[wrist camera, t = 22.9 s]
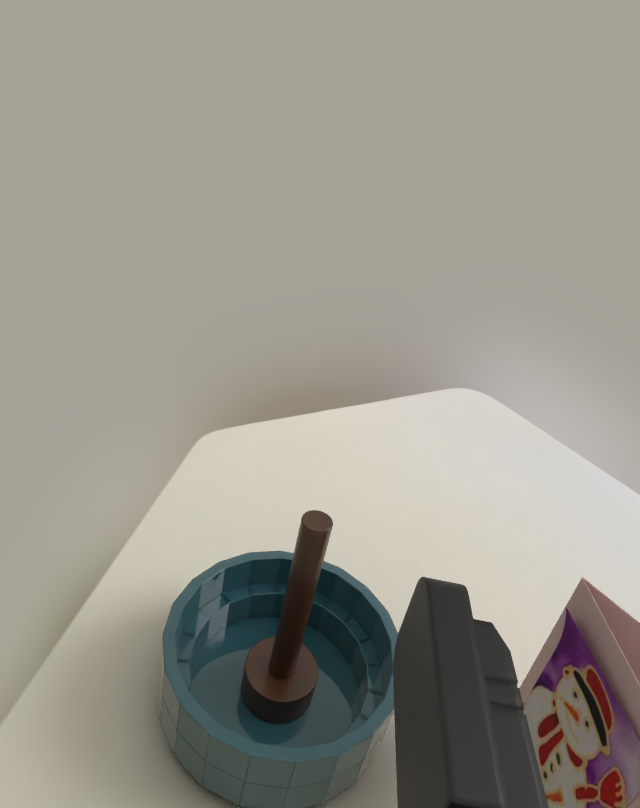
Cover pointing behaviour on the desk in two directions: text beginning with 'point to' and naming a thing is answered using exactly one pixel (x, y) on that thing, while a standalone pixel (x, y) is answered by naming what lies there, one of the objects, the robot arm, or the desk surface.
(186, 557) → the desk surface
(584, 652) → the greeting card
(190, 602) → the bowl
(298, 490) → the desk surface
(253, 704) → the brown joystick
